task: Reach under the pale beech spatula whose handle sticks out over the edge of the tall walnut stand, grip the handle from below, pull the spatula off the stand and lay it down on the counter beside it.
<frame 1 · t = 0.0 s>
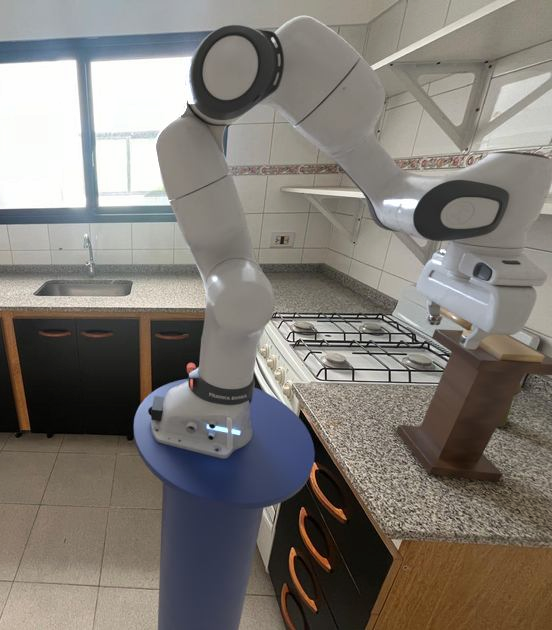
hand: (448, 334, 62), 28 cm above the counter, tool pointing down, fingers open, 8 cm apart
spatula: (498, 348, 61), point 26 cm above the counter, touching stand
stand: (442, 454, 72), on the counter
cork: (487, 418, 82), on the counter
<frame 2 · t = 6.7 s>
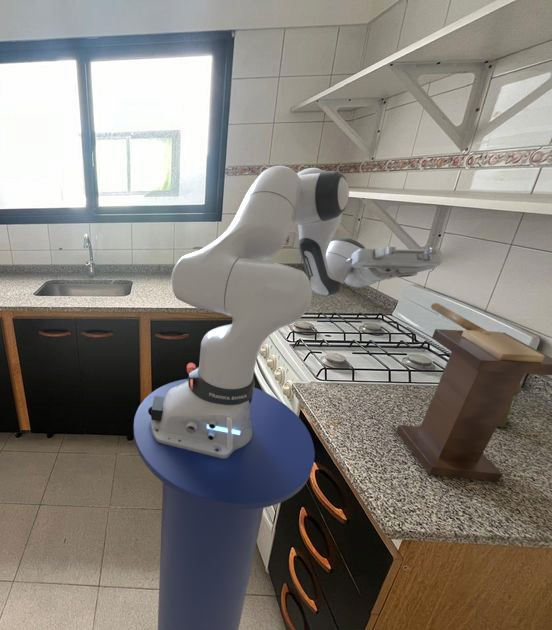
hand: (413, 250, 85), 36 cm above the counter, tool pointing upward, fingers open, 8 cm apart
nothing on the counter moved.
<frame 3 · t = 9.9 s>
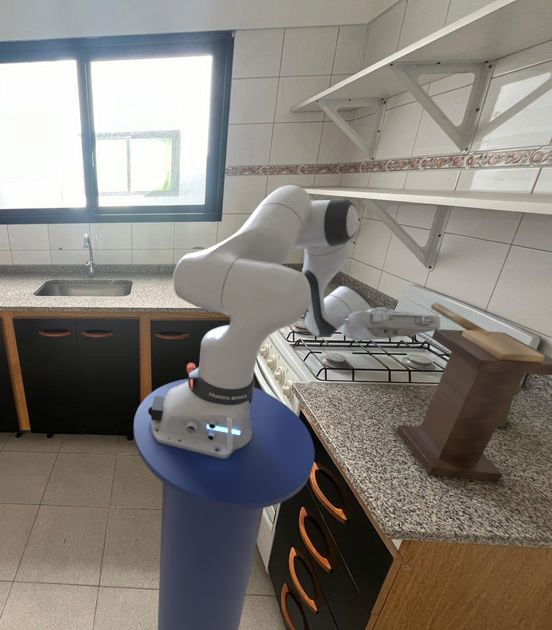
hand: (411, 317, 84), 21 cm above the counter, tool pointing upward, fingers open, 8 cm apart
nothing on the counter moved.
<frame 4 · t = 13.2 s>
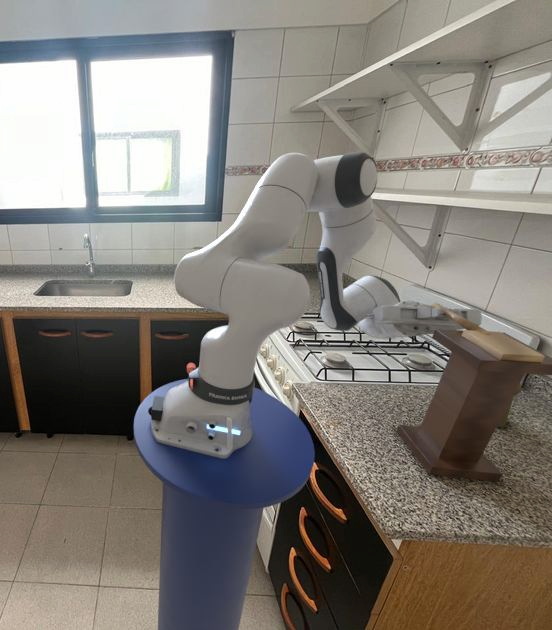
hand: (449, 312, 72), 27 cm above the counter, tool pointing upward, fingers closed on spatula, 1 cm apart
spatula: (498, 348, 61), point 26 cm above the counter, touching gripper, stand
everything else where it was.
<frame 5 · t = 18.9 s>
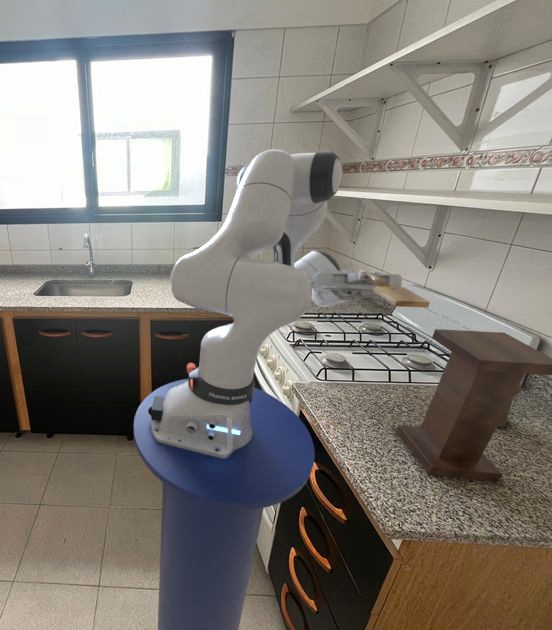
hand: (370, 275, 84), 31 cm above the counter, tool pointing upward, fingers closed on spatula
spatula: (398, 299, 72), point 30 cm above the counter, touching gripper
everything else where it was.
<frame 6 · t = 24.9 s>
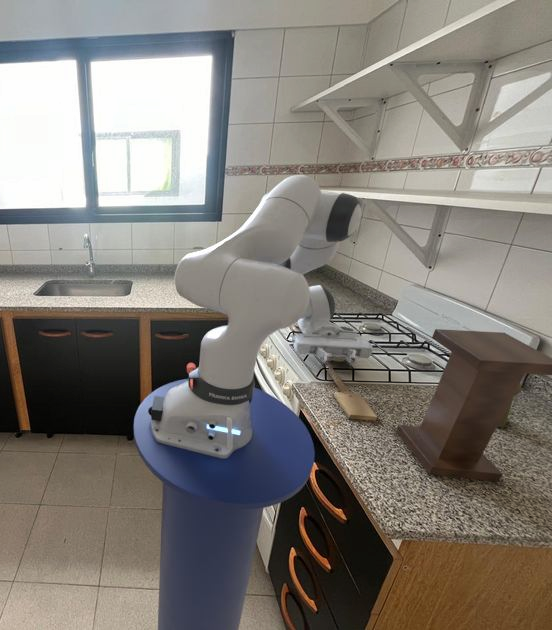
hand: (341, 359, 94), 7 cm above the counter, tool horizontal, fingers open, 5 cm apart
spatula: (353, 407, 86), on the counter
everything else where it was.
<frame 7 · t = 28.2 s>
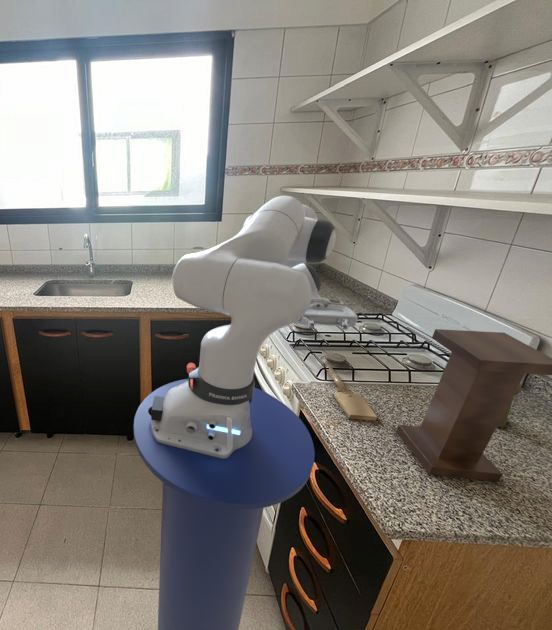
hand: (328, 326, 103), 11 cm above the counter, tool horizontal, fingers open, 8 cm apart
nothing on the counter moved.
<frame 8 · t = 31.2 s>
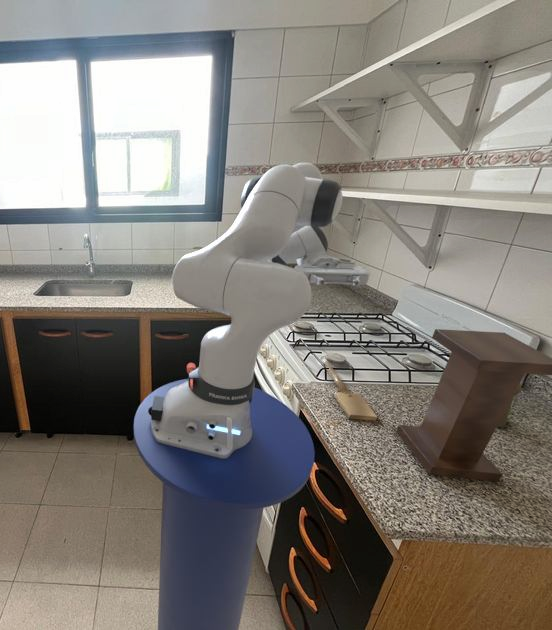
hand: (339, 283, 97), 25 cm above the counter, tool horizontal, fingers open, 8 cm apart
nothing on the counter moved.
at the end: spatula on the counter; spatula inside the target area (0.4 cm from its centre), on the counter; the gripper is holding nothing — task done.
